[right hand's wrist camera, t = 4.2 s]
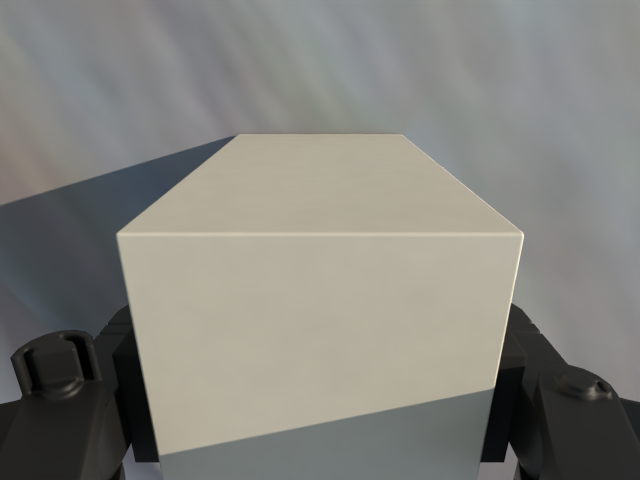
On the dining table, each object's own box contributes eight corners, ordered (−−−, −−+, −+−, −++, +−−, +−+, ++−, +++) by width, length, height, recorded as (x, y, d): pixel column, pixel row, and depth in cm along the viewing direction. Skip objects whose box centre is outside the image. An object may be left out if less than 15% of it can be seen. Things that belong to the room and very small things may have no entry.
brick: (401, 133, 16) (526, 232, 6) (389, 313, 19) (461, 568, 9) (237, 133, 16) (113, 233, 6) (250, 313, 19) (178, 567, 9)
